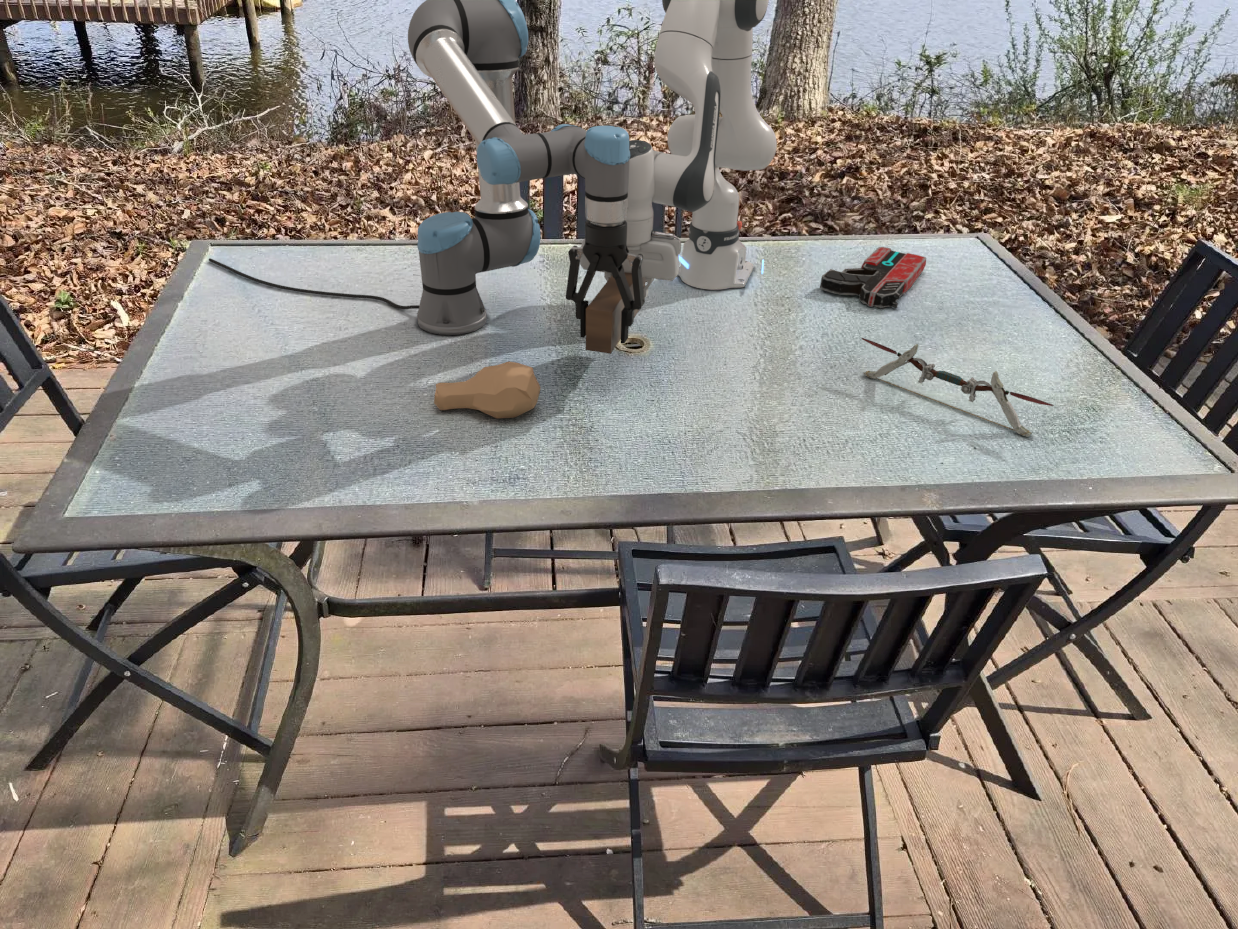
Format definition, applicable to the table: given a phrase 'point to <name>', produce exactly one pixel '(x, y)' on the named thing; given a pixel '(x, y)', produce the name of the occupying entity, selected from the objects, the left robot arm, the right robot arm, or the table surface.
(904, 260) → the gun
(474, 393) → the squash
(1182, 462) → the table surface
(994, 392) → the bow
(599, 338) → the bar
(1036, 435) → the table surface
